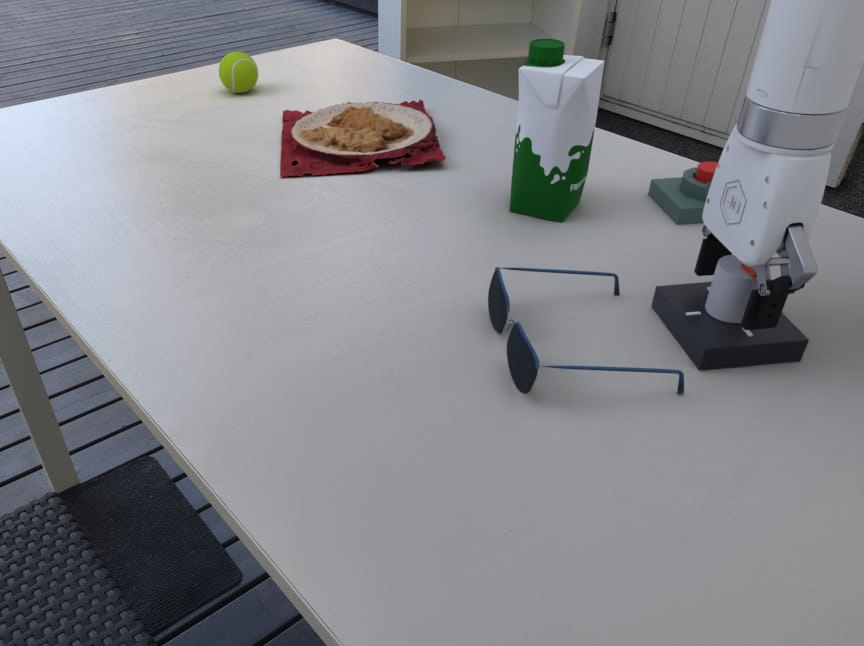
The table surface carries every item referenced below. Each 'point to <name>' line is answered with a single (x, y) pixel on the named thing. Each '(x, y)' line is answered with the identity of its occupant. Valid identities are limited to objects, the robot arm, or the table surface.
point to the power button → (705, 171)
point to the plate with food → (357, 138)
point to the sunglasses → (519, 346)
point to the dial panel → (723, 332)
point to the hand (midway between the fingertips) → (732, 299)
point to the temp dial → (730, 289)
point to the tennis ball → (238, 72)
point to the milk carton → (553, 130)
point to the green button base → (680, 197)
